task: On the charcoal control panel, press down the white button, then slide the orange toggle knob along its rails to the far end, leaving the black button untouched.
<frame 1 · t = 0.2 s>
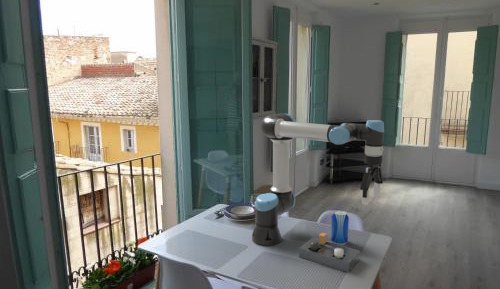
hand: (371, 200, 162), 27 cm above the table, fingers open, 13 cm apart
toggle knob: (322, 238, 169), point 7 cm above the table, slide at 0.0 cm
black button: (314, 246, 164), point 6 cm above the table, slide at 0.0 cm
panel: (329, 258, 164), on the table
white button: (338, 253, 157), point 6 cm above the table, slide at 0.0 cm
beer can: (339, 242, 181), on the table
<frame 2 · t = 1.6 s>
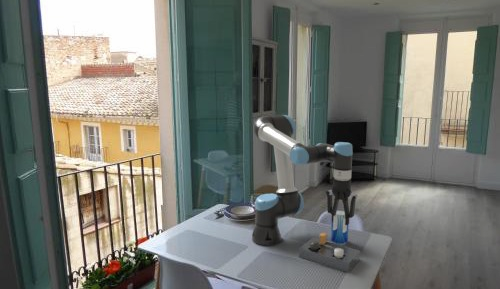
hand: (339, 230, 155), 17 cm above the table, fingers open, 4 cm apart
nothing on the table moved.
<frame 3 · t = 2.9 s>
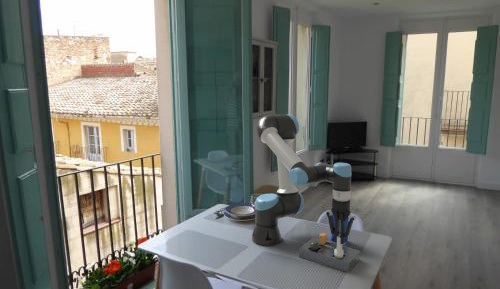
hand: (339, 250, 157), 7 cm above the table, fingers closed
white button: (338, 254, 157), point 5 cm above the table, slide at 0.2 cm, touching gripper
everything else where it was.
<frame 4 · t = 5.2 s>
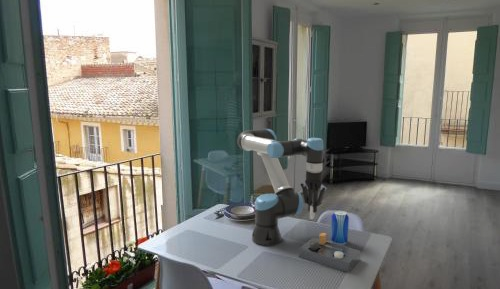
hand: (312, 218, 171), 16 cm above the table, fingers closed
white button: (338, 256, 157), point 4 cm above the table, slide at 1.5 cm
everything else where it was.
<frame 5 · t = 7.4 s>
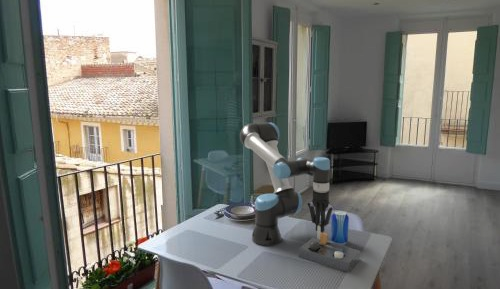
hand: (319, 237, 170), 7 cm above the table, fingers closed
toggle knob: (323, 239, 169), point 7 cm above the table, slide at 0.4 cm, touching gripper
everything else where it was.
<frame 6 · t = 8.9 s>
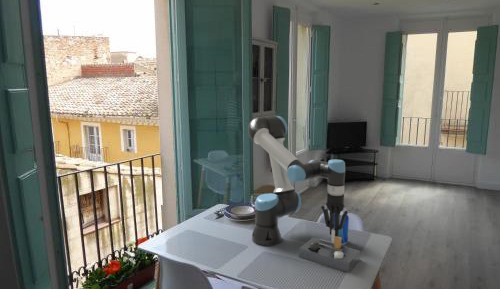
hand: (333, 242, 165), 7 cm above the table, fingers closed
toggle knob: (337, 243, 164), point 7 cm above the table, slide at 7.5 cm, touching gripper
everything else where it was.
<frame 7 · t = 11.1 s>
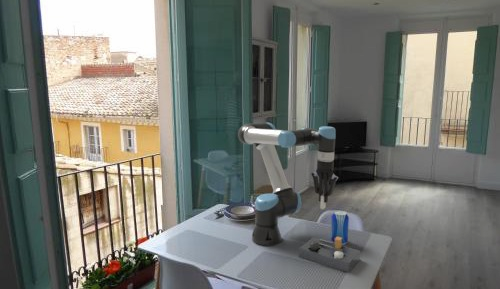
hand: (322, 208, 168), 22 cm above the table, fingers closed
toggle knob: (338, 243, 164), point 7 cm above the table, slide at 7.7 cm
everything else where it was.
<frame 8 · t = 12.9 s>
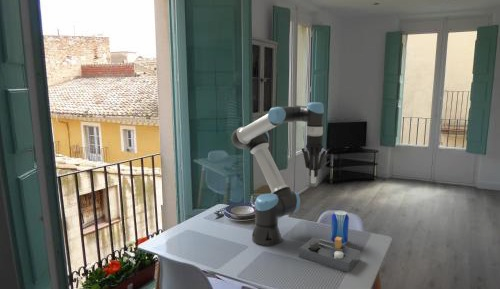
hand: (313, 182, 173), 32 cm above the table, fingers closed
nothing on the table moved.
at the end: white button slide at 1.5 cm; toggle knob slide at 7.7 cm; black button slide at 0.0 cm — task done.
